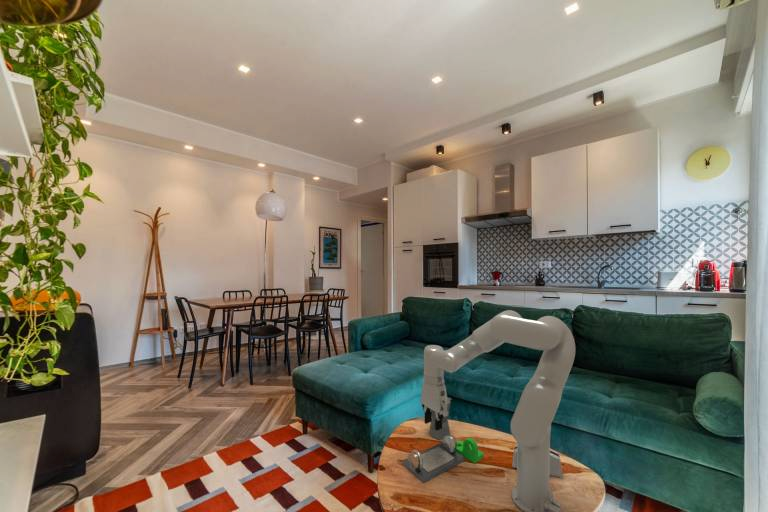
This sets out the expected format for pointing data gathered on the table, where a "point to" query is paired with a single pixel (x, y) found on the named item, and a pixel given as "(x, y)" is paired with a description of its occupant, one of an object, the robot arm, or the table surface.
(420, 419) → the table surface
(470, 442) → the mechanical part
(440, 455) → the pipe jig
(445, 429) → the coffeepot
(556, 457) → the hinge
